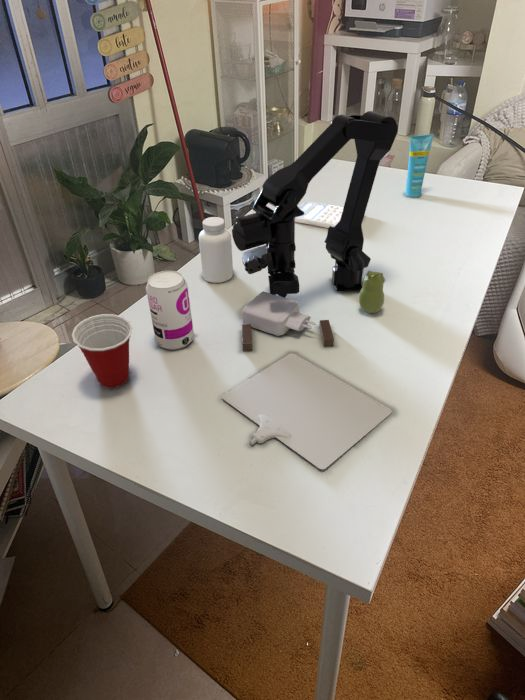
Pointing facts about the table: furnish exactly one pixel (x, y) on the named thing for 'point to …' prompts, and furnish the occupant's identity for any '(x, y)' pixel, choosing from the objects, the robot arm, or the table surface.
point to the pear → (372, 292)
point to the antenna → (306, 409)
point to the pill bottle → (215, 250)
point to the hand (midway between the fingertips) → (281, 299)
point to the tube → (417, 163)
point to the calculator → (319, 214)
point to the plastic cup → (105, 347)
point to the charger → (274, 314)
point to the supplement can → (170, 309)
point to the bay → (323, 325)
